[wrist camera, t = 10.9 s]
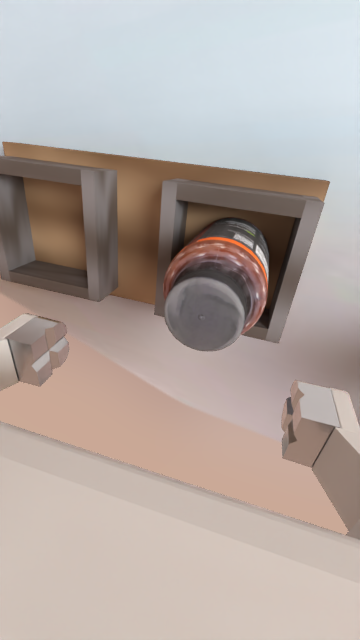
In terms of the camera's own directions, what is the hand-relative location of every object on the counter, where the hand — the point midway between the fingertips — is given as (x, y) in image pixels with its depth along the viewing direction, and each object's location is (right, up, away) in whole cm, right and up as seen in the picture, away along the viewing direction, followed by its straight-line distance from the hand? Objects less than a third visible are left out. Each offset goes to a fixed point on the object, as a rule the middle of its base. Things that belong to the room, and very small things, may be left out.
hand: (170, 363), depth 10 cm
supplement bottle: (+5, +7, +13) cm, 16 cm away
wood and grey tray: (-2, +9, +16) cm, 19 cm away
